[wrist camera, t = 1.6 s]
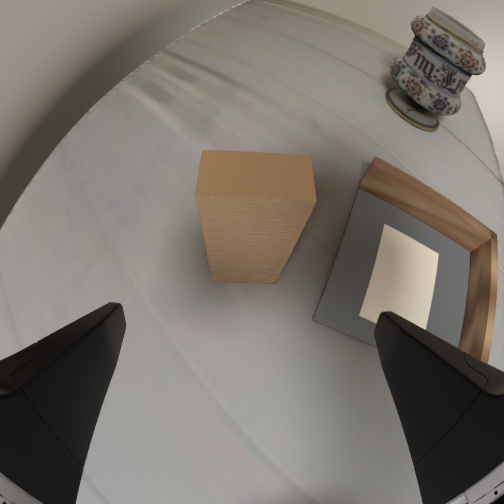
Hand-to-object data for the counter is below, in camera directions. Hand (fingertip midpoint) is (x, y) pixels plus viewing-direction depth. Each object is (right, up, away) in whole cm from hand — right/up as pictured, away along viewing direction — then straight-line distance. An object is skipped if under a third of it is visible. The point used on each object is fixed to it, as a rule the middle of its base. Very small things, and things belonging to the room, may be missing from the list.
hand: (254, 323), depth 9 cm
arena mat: (+15, 0, +14) cm, 20 cm away
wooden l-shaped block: (-1, +3, +15) cm, 15 cm away
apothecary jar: (+25, +24, +26) cm, 43 cm away
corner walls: (+16, 0, +14) cm, 21 cm away
